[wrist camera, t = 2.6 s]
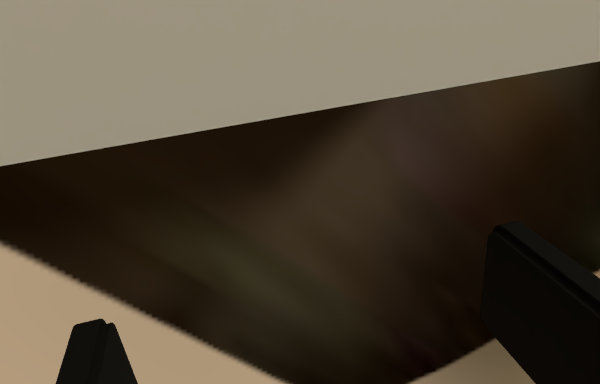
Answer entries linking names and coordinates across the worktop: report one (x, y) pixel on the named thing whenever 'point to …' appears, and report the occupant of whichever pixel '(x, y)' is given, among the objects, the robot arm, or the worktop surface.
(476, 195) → the worktop surface
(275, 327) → the worktop surface
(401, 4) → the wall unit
